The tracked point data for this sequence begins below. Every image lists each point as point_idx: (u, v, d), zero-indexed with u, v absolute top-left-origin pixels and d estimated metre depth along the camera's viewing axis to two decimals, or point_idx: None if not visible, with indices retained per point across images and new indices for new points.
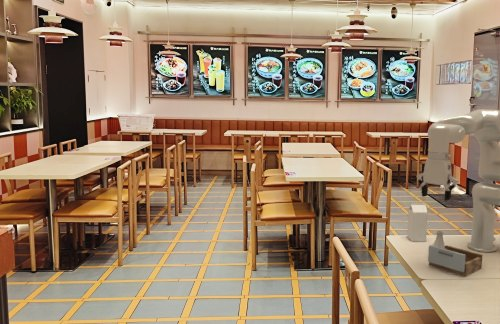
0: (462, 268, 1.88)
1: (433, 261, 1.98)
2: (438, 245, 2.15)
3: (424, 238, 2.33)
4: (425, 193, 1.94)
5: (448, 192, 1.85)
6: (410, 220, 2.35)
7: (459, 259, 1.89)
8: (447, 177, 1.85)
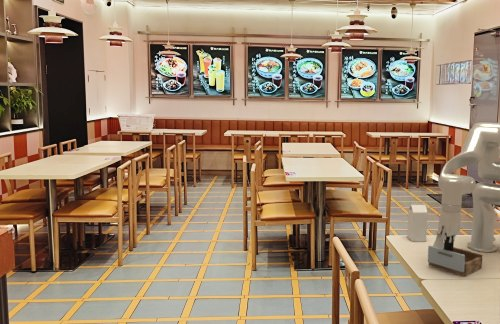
0: (462, 268, 1.88)
1: (433, 261, 1.98)
2: (438, 245, 2.15)
3: (424, 238, 2.33)
4: None
5: None
6: (410, 220, 2.35)
7: (459, 259, 1.89)
8: None
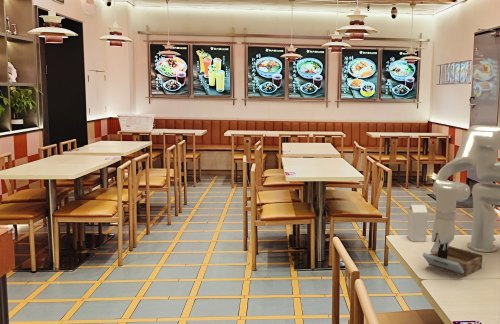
0: (461, 271, 1.88)
1: (433, 264, 1.98)
2: None
3: (424, 238, 2.33)
4: None
5: None
6: (410, 220, 2.35)
7: (455, 266, 1.87)
8: None
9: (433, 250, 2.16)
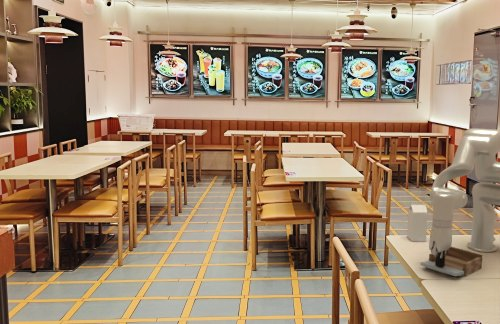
0: None
1: None
2: None
3: (424, 238, 2.33)
4: None
5: None
6: (410, 220, 2.35)
7: None
8: None
9: None
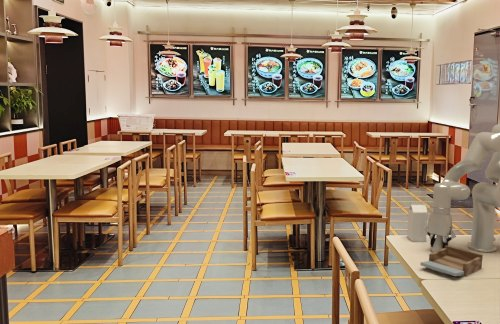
0: None
1: None
2: (438, 245, 2.15)
3: (424, 238, 2.33)
4: None
5: None
6: (410, 220, 2.35)
7: None
8: None
9: (433, 250, 2.16)
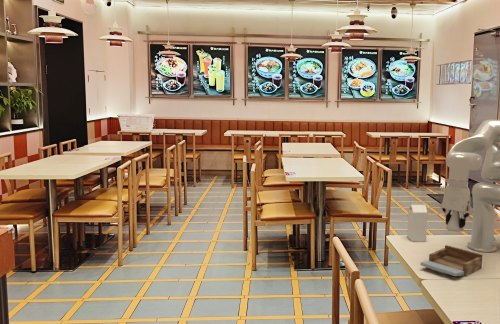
0: None
1: None
2: (454, 222, 1.97)
3: (424, 238, 2.33)
4: None
5: None
6: (410, 220, 2.35)
7: None
8: None
9: (448, 227, 1.98)
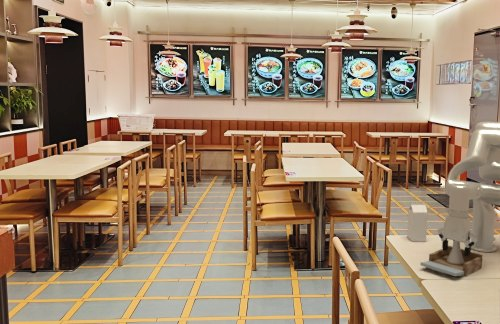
0: None
1: None
2: (455, 254, 1.97)
3: (424, 238, 2.33)
4: None
5: None
6: (410, 220, 2.35)
7: None
8: None
9: (449, 260, 1.98)
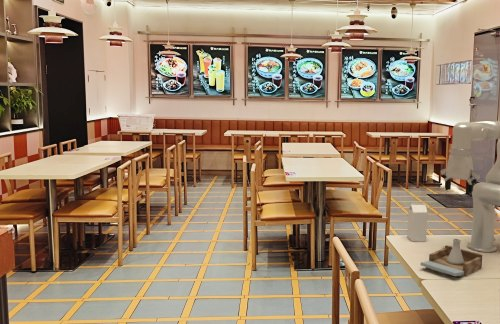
0: None
1: None
2: (455, 254, 1.97)
3: (424, 238, 2.33)
4: None
5: None
6: (410, 220, 2.35)
7: None
8: None
9: (449, 260, 1.98)
